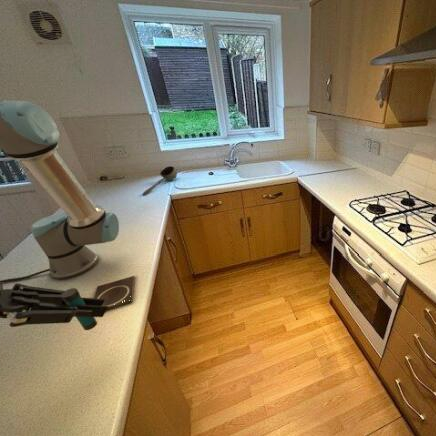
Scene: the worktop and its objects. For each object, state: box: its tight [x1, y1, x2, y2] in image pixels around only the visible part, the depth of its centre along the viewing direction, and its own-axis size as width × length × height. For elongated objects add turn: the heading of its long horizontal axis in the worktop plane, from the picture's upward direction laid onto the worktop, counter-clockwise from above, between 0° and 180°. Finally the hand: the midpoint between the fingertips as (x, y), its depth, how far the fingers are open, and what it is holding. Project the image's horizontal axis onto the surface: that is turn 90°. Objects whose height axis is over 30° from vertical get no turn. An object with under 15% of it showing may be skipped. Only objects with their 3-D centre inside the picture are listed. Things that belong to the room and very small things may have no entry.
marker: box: [60, 287, 98, 331], centre depth 60 cm, size 3×3×12 cm
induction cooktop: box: [93, 275, 136, 312], centre depth 86 cm, size 12×14×1 cm
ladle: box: [142, 165, 178, 196], centre depth 184 cm, size 12×38×10 cm, turn 171°
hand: (103, 307), depth 63 cm, fingers closed on marker, 3 cm apart
